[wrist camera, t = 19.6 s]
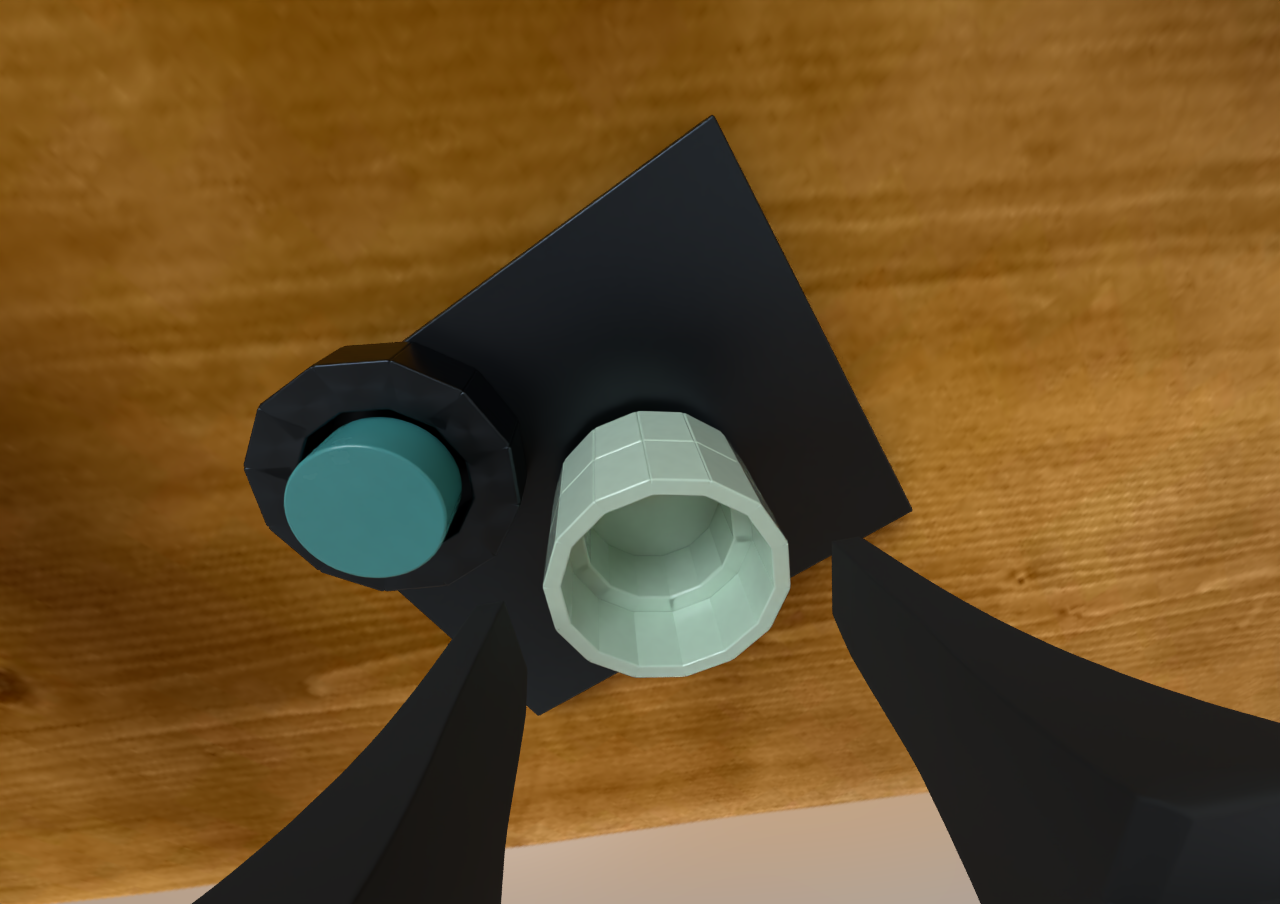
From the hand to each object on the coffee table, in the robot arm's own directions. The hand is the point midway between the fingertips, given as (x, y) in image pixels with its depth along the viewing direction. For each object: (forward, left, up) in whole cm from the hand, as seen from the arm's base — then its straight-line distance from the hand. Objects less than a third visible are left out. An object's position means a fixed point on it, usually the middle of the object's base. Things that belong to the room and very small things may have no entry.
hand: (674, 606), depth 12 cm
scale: (-1, +1, -6) cm, 6 cm away
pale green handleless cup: (0, 0, -5) cm, 5 cm away
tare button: (-5, +5, -4) cm, 8 cm away
